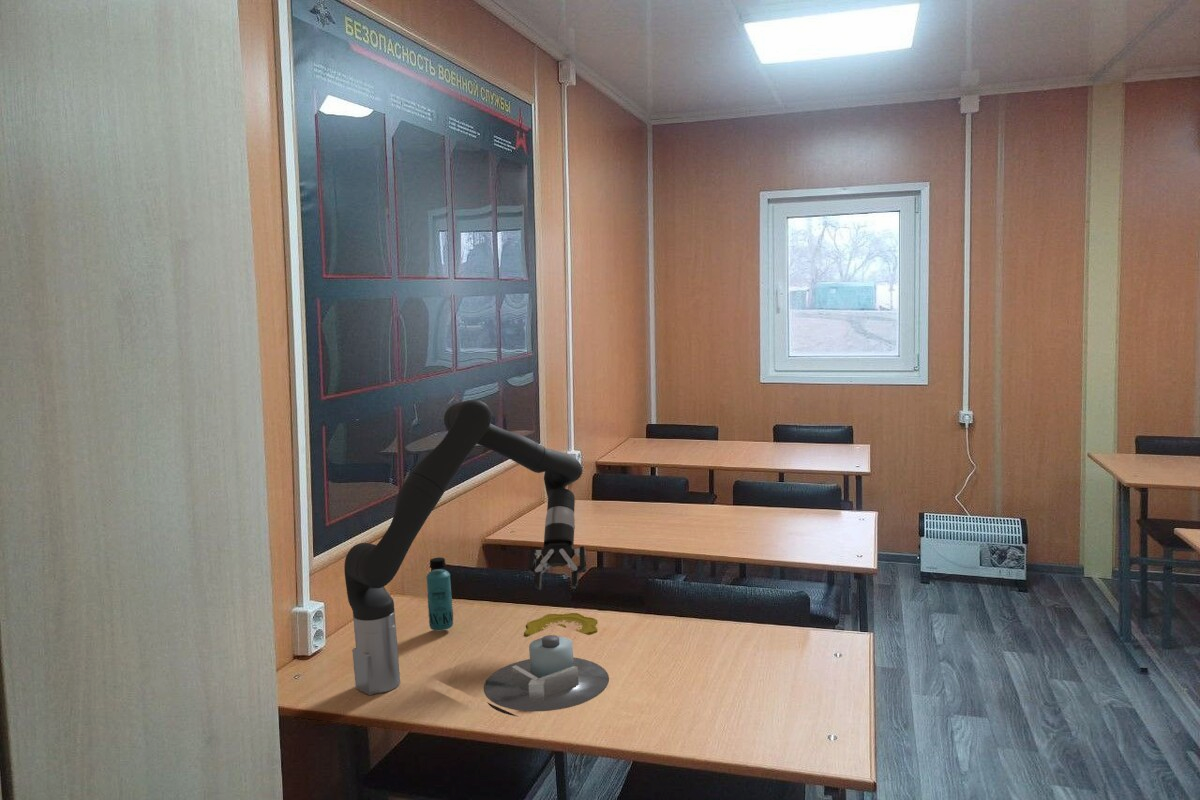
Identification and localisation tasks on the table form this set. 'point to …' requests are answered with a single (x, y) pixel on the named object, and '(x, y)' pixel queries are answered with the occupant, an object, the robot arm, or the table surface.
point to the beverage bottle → (439, 596)
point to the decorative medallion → (540, 623)
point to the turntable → (545, 686)
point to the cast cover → (550, 655)
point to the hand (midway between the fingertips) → (556, 588)
